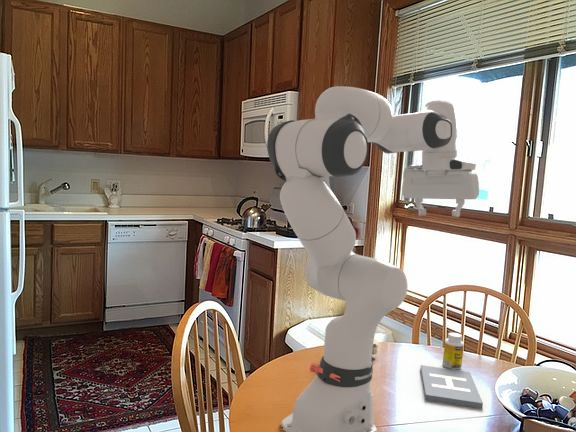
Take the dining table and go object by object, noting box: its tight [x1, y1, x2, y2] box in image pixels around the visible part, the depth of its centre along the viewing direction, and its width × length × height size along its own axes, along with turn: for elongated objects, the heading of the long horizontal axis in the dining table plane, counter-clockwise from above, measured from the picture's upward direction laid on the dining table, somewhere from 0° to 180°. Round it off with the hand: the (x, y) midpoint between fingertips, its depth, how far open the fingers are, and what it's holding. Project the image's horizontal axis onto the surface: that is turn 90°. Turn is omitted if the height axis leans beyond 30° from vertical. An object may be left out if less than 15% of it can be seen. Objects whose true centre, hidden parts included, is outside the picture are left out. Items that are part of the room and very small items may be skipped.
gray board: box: [419, 364, 484, 410], centre depth 134 cm, size 20×14×2 cm
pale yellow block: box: [372, 339, 380, 356], centre depth 153 cm, size 10×9×6 cm
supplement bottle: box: [442, 332, 465, 370], centre depth 149 cm, size 6×6×10 cm
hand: (438, 216), depth 130 cm, fingers open, 8 cm apart
